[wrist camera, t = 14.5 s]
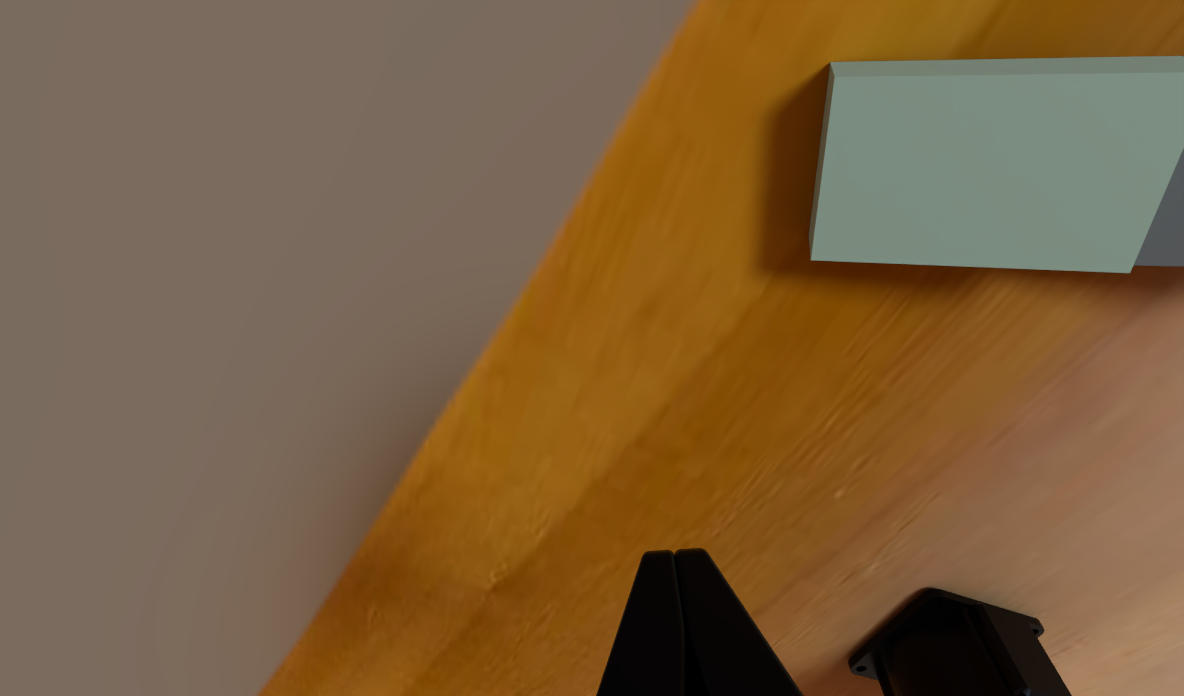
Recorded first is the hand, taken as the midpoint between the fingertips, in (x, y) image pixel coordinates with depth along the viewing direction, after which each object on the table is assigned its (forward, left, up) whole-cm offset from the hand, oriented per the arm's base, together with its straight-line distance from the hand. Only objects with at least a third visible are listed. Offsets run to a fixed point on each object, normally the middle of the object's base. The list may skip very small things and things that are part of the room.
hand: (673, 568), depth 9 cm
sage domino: (+3, -4, -12) cm, 13 cm away
